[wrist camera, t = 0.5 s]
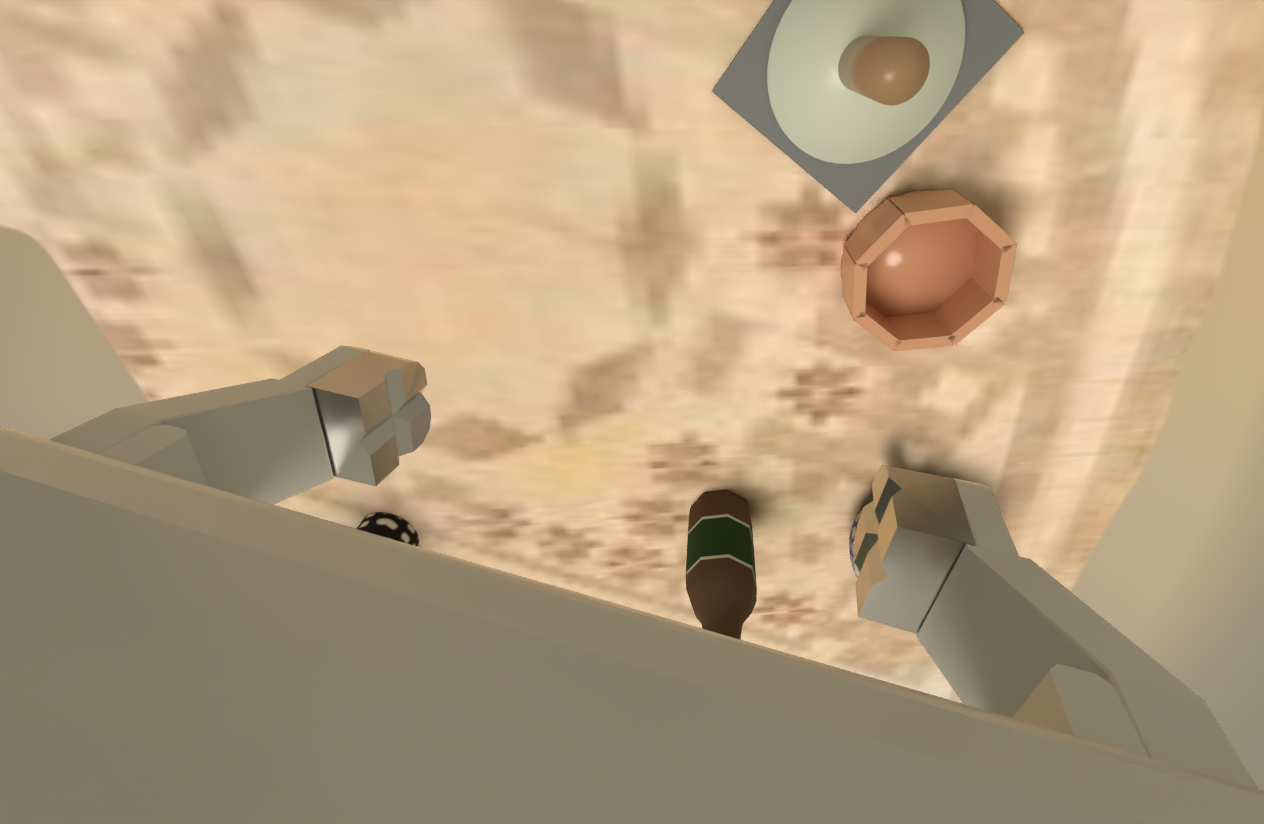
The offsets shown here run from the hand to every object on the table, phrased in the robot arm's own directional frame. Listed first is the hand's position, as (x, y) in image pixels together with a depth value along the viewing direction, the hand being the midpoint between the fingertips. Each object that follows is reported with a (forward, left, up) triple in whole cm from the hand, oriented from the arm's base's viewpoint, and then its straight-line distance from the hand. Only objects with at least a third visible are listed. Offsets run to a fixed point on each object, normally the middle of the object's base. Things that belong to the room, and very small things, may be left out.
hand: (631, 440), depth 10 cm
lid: (-10, +8, -45) cm, 47 cm away
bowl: (-2, +23, -46) cm, 51 cm away
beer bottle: (+33, +30, -46) cm, 64 cm away
